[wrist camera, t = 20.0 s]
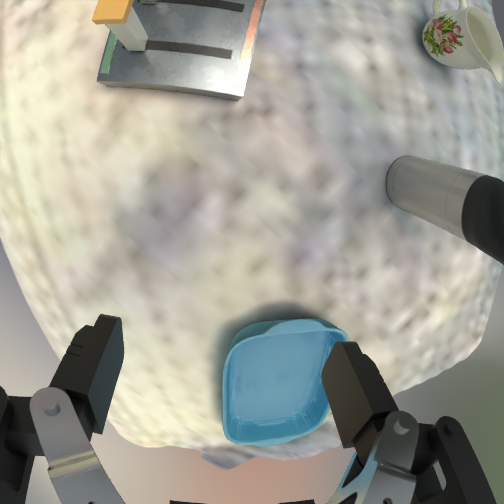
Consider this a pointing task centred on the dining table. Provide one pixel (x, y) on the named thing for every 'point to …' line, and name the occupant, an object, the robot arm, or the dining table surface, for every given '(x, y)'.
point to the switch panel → (187, 48)
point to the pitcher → (464, 39)
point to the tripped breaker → (122, 22)
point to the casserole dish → (276, 380)
